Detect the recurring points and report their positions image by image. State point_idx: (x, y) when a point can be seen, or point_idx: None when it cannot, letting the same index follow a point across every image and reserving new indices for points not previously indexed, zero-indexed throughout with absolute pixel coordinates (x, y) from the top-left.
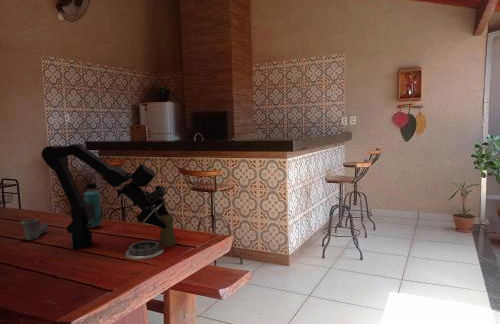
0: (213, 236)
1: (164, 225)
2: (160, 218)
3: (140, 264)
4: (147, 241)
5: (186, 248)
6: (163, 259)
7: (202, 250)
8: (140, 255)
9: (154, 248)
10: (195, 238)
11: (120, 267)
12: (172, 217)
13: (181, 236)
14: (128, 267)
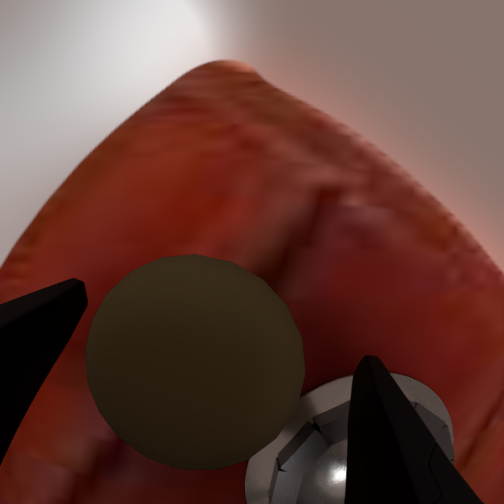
0: (184, 103)
1: (386, 380)
2: (235, 462)
3: (491, 439)
4: (287, 490)
5: (351, 235)
6: (475, 351)
7: (391, 163)
8: None
9: (438, 417)
10: (176, 179)
11: (483, 500)
12: (229, 262)
13: (104, 259)
14: (496, 472)
